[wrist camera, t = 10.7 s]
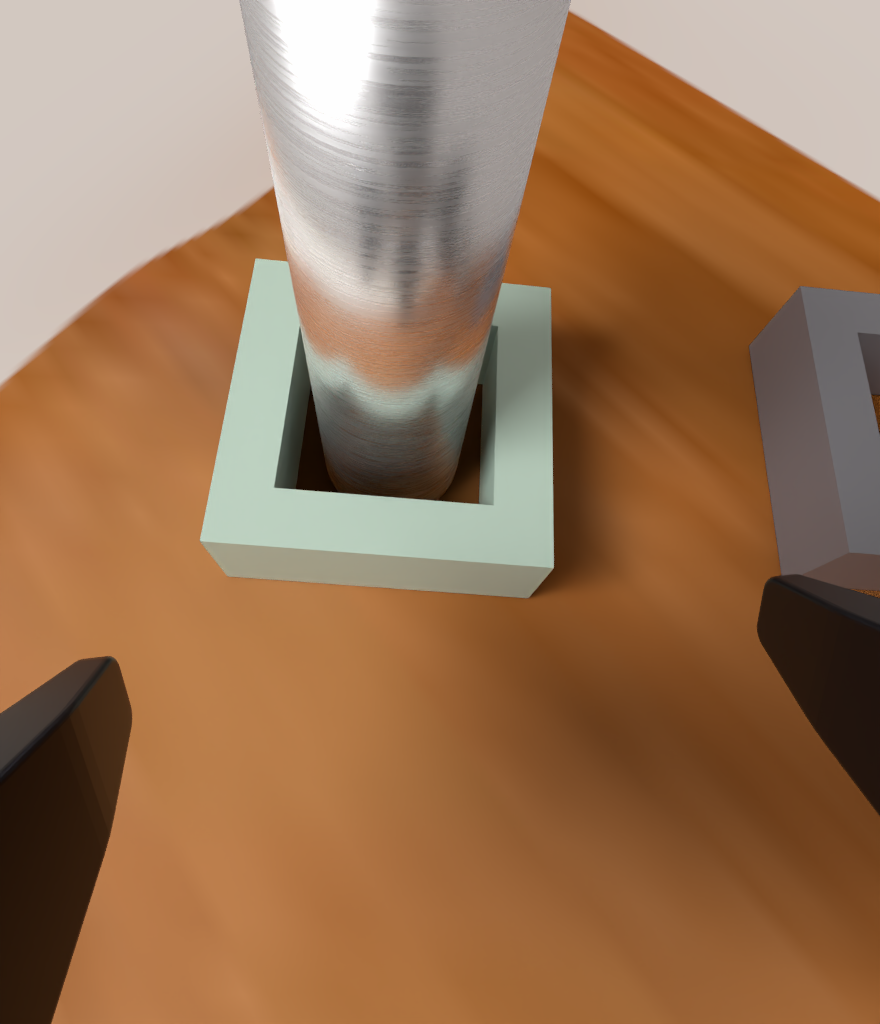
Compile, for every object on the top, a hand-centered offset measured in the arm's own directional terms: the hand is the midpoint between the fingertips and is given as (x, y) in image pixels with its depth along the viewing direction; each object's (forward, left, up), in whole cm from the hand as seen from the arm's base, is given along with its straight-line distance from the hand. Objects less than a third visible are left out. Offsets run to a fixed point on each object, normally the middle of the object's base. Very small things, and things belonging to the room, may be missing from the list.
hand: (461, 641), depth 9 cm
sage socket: (+7, +1, -9) cm, 12 cm away
